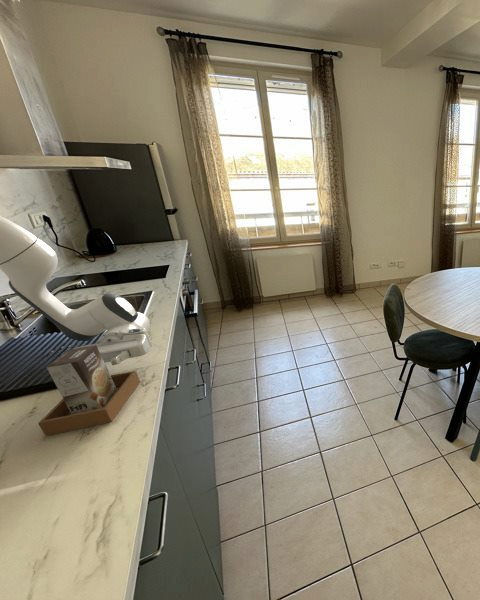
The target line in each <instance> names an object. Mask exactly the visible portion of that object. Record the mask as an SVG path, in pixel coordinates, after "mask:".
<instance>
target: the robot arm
mask: <svg viewBox="0 0 480 600" xmlns="http://www.w3.org/2000/svg"><path fill="white" fill-rule="evenodd" d="M58 264H59V258H58V255H57V252H56V251H54V249H53V248H52V246H50V245H48V244H47V243H46V242H44V241H43V240H42V239H40V238H39V237H37V236H36V235H34V234H33V233H32V232H31V231H29V230H27V229H25V228H24V227H22V226H20V225H19V224H18V223H15V222H14V221H12V220H10V219H8V218H6V217H4V216H2V215H0V270H1V271H2V272H3V273H4V274H5V276H6V277H7V278H8V279H9V280H8V286H9V288H10V289H11V290H12V292H13V293H15V294H16V295H17V296H18V297H19V298H20V299H21V300H23V301H25V303H27V304H28V305H30V307H32V308H33V309H34V310H35V311H37V312H38V313H40V314H41V315H42V316H43V317H44V318H46V319H47V320H48V321H50V322H51V323H52V324H54V325H55V326H56V327H57V328H58V330H60V332H61V333H62V334H63V335H64V336H66V337H67V338H68V339H70V340H73V341H78V342H89V341H92V340H93V339H95V338H96V337H98V336H99V338H98V340H97V342H96V343H91V344H86V345H80V346H77V347H75V348H74V349H77V348H80V347H86V346H92V345H97V347H98V350H99V352H100V354H101V356H102V358H103V360H104V363H109V362H110V364H111V366H115V365H120V364H121V362H124V361H125V360H128V359H133V358H137V357H142V356H145V355H147V354H148V353H149V351H150V350H151V348H152V347H153V344H152V341H151V338H150V335H149V333H148V332H149V330H150V327H151V326H150V325H151V322H150V319H149V317H148V316H147V315H146V314H144V313H142V312H139V311H138V310H137V309H136V307H135V306H134V305H133V303H131V301H129V300H128V299H127V298H126V297H124V296H122V295H119V294H115V293H105V294H103V295H101V296H98V297H97V298H94V299H93V300H91V301H90V302H88V303H86V304H84V305H82V306H80V307H78V308H75V309H73V308H69V307H68V306H66V305H65V304H64V303H63V302H61V300H60V299H58V298H57V297H56V296H55V295H54V294H52V293H51V292H50V291H49V289H48V288H47V283H48V282H49V281H50V279H51V278H52V276H53V275H54V274H55V272H56V270H57V268H58ZM101 334H102V335H101Z"/></svg>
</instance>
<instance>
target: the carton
mask: <svg viewBox="0 0 480 600" xmlns="http://www.w3.org/2000/svg"><path fill="white" fill-rule="evenodd" d="M110 376H111V378H112V380H113V382H114V384H115V386H116V389H117V392H116V393H115V394H114V395H113V397H112V398H111V399H110V400H109V402H108V403H107V404H106V406H105V407H104V408H101V409H96V410H92V411H87V412H82V413H77V414H73V415H72V414H71V412H70V410H69V409H68V407H67V405H66V403H65V401H64V399H63V398H62V399H61V400H60V401H59V402H58V403H57V404H56V405H55V406H54V407H53V408H52V409H51V410H50V411H49V412H48V413H46V415H45V416H43V418H42V419H41V420H40V421H38V423H37V425H38V426H39V428H40V429H41V431H42V433H43V434H44V436H45V437H48V436H54V435H57V434H62V433H63V434H64V433H67V432H71V431H76V430H80V429H81V430H82V429H84V428H85V429H86V428H90V427H95V426H100V425H104V424H108V423H112V422H113V421H114V419H115V418H116V417H117V415H118V414H119V412H120V411H121V410H122V408H123V407H124V405H126V403H127V401H128V400H129V398H130V397H131V396H132V395H133V393H134V392H135V390H136V389H137V388H138V385H140V383H141V379H140V378H139V376H138V373H137V370H132V371H126V372H122V373H118V374H110Z"/></svg>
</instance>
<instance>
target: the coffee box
mask: <svg viewBox="0 0 480 600" xmlns="http://www.w3.org/2000/svg"><path fill="white" fill-rule="evenodd" d="M79 347H80V346H79ZM76 348H77V347H76ZM45 368H46V370H47V371H48V373H49V375H50V377H51V379H52V381H53V383H54V384H55V386H56V388H57V390H58V391H59V394H60V396H61V398H62V399H64V401H65V403H66V405H67V407H68V409H69V410H70V412H71V413H70V415H73V414H77V413H82V412H87V411H92V410H96V409H101V408H104V407H105V406H106V404H107V403H108V402H109V400H110V399H111V398H112V397H113V395H114V394H115V393H116V392H117V390H118V388H116V386H115V384H114V382H113V380H112V378H111V373H110V371H109V369H108V366H107V365H106V362H104V360H103V358H102V356H101V354H100V352H99V350H98V347H97V345H92V346H86V347H80V348H77V349H75V348H71V349H68V350H67V351H65V352H64V353H62V354H61V355H59V356H58V357H57V358H55V359H54V360H53V361H52V362H50V363H49V364H47V366H45Z"/></svg>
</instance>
